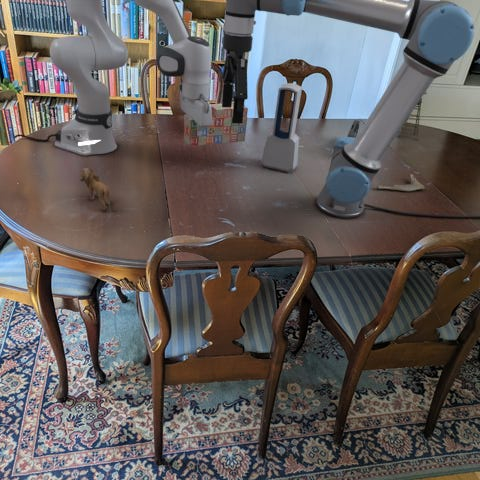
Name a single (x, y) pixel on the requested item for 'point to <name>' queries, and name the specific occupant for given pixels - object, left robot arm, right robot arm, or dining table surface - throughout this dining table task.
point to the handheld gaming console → (354, 129)
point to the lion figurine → (95, 186)
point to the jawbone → (405, 186)
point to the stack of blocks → (216, 127)
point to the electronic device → (283, 134)
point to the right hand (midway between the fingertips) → (231, 114)
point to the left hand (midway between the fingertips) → (194, 131)
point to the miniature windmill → (415, 119)
